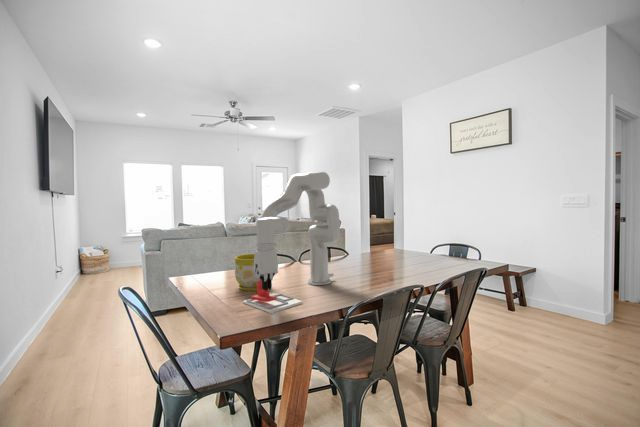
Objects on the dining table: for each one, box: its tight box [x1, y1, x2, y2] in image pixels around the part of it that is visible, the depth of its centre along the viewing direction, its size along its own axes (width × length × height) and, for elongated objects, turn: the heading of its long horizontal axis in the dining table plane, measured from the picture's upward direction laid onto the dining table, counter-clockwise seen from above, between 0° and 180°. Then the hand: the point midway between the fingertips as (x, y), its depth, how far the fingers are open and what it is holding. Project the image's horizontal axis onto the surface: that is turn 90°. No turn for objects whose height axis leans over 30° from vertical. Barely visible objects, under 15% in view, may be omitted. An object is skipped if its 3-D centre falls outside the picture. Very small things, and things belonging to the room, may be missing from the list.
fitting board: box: [242, 292, 303, 314], centre depth 146 cm, size 17×20×2 cm
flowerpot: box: [233, 253, 267, 292], centre depth 173 cm, size 18×18×16 cm
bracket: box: [250, 280, 276, 302], centre depth 143 cm, size 12×4×8 cm, turn 46°
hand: (266, 289), depth 144 cm, fingers closed on bracket, 1 cm apart
